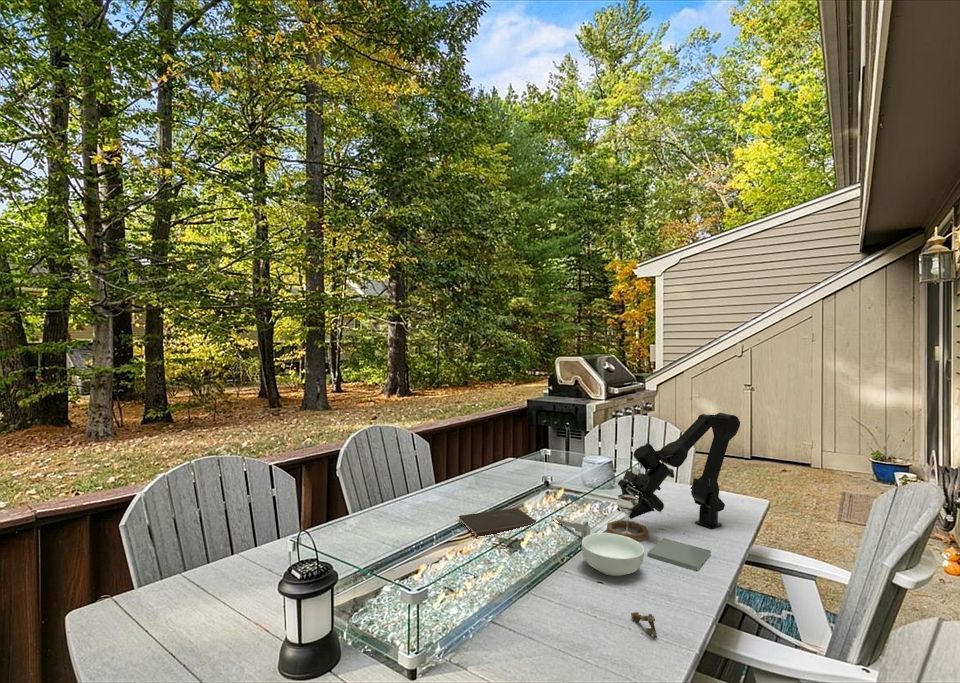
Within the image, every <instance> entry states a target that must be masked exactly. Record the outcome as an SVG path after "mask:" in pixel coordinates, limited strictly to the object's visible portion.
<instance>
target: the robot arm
mask: <svg viewBox="0 0 960 683" xmlns="http://www.w3.org/2000/svg"><path fill="white" fill-rule="evenodd" d="M740 428H741V421H740V419H739V417H738V416H737V415H735V414H729V413H725V412H718V413H716V414H704V413H703V414H702V413H701V414H700V415H698V417H697V419H696V420H695V421H694V422H693V423H692V424H691V425H690V426H689V427H688V428H687V429H686V430H685V431H684V432H683V433H682V434H681V435H680V436H679V437H678V438H677V439H676V440H674V441H672V442H669V443H667V444H666V445H664V446H663V447H662V448H661V449H660V450H659V449H658V450H656V449H655V448H654V447H653V446H652V444H650V443H649V442H648V443H645V445H641V446H639V447H637V448H636V449H635V450H634V452H633V454H632V456H633V458H634V459H635V460H636V461H637V462H638V463H639V464H640V465H641V467H642V468H643V469H644V470H647V471H646V472H645V473H643V472H642V473H641V472H639V473H637V474H636V473H635V472H632V471H629V470H628V469H627V470H626V471H625V473H624V476H623V479H622V478H621V479H620V480H619V481H618V482H617V485H618V487H620V490H621V494H629V495H633V496H636V497H638V504H637V505H636V506H635V508H634V509H633V511H632V512H631V513H630V515H629V519H630V520H632V519H634V518H636V517H640V516H641V515H644V514H647V513H650V512H655V511H657V512H659V513H661V512H662V511H663V510H664V509H665V503H664V502H663V501H662V500H661V498H659V497H658V495H657V494H655V493H656V491H659V492H660V491H661V489H662V488H661V484H663V483H664V481H665V480H666V479H667V477H669V478H672V479H674V478H675V474H674V469H672V468H679V467H681V466H682V465H683V464H684V462H685V461H686V460H687V458H688V454H689V451H690V450H691V449H692V448H693V446H694V445H695V444H697V442H698V441H699V440H701V438H702V437H703V436H704V435H705V434H706V433H707V432H708V431H709V430H710V429H711V430H712V434H713V438H712V440H711V445H710V448H709V452H708V454H707V457H706V458H707V459H706V462H705V465H704V468H703V472H702V474H701V475H700V476H699V477H698V478H696V477H694V479H693V481H692V485H691V486H690V490H691V492H690V493H691V494H690V495H691V496H692V498H693V500H694V504H696V505H699V513H698V520H696V521H695V522H694V523H695V524H697V525H699V526H702V527H705V528H708V529H710V530H714V529H716V528H719V527H722V526H723V523H722V522H719V512H722V511H724V509H725V506H726V504H725V503H724V502H723V500H722V499H721V498H720V496H719V495H720V486H719V483H718V479H719V477H720V474H721V469H722V466H723V464H724V463H723V462H724V460H725V456H726V453H727V449H728V445H729V443H730V441H731V440H732V439H733V438H734V437H735V436H736V435H737V433H738V432H739V429H740ZM669 466H671V467H672V468H670V467H669ZM616 510H617V511H618V512H622V511H621V510H620V509H619V508H618V507H617V508H616ZM721 525H722V526H721Z"/></svg>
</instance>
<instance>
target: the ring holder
mask: <svg viewBox="0 0 960 683" xmlns="http://www.w3.org/2000/svg"><path fill="white" fill-rule="evenodd" d="M619 528H620V529H627V526H626V520H617V519H616V520H614V521H611V522H607V524H606V530H607V533H612V534H618V535H622V536H626V537H629V538H631V539H633V540H635V541H637V542H639V543H641V542H642V541H646V540H648V539H649V532H648V529H647V526H646V525H642V524H641V523H639V522H638V523H637V522H635V521H630V520H628V529H630V530H635V531H636V532H639V533H634V534H626V533H621V531H619V530H617V529H619Z"/></svg>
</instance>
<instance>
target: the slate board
mask: <svg viewBox="0 0 960 683" xmlns="http://www.w3.org/2000/svg"><path fill="white" fill-rule="evenodd" d="M710 554H711V555H712V550H710V549H707V548H702V547H699V546H696V545H691V544H688V543H684V542H679V541H676V540H673V539H669V538H665V537H663V538H661V540H659V542H657V543H656V544H655V545H654V546H653V547H652V548H650V549H649V550H648V551H647V554H646V556H647V557H648V558H651V559H655V560H657V561H661V562H664V563H669V564H671V565H675V566H678V567H682V568H684V567H685V569H688V568H689V570H691V569H693V570H692V571H695V570H698V569H699V568H701V567H702V566H703V565H702V564H703V563H704V564H705V563H706V561H707V560H708V559H709V558H710V556H711V555H710ZM707 558H708V559H707ZM706 559H707V560H706ZM705 560H706V561H705ZM701 565H702V566H701ZM699 570H700V569H699ZM699 570H698V571H699Z"/></svg>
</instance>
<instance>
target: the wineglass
mask: <svg viewBox="0 0 960 683" xmlns="http://www.w3.org/2000/svg"><path fill="white" fill-rule="evenodd" d="M638 498H639V496H637V495H636V496H633V495H629V494H622V493H620V494H618V495H617V501H616V505H617V508H619V509H620V510H621V511H620V512H622V513H624V514H625V515H626V519H625V521H626V526H627V528H626V530H621V531H620V532H621V533H626V534H635V533H634V532H633V531H629V528H628V521H630V520H629V519H630V518H629V515H630V513H631V512H632V511H633V509H634V508H635V506H636V505H637V504H638Z"/></svg>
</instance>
